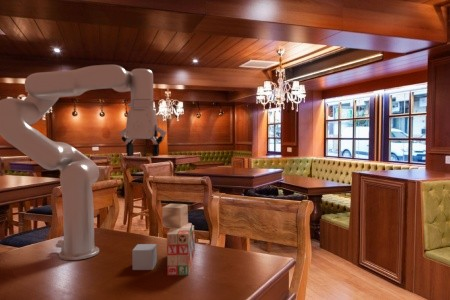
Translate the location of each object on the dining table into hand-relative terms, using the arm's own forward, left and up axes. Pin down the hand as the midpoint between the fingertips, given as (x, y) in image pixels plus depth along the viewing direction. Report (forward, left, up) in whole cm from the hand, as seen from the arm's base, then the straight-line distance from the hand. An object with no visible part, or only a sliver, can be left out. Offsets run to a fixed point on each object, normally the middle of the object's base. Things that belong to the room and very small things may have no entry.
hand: (142, 156), depth 118 cm
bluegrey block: (+7, -12, -33) cm, 36 cm away
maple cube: (+15, -7, -21) cm, 27 cm away
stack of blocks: (+17, -6, -34) cm, 38 cm away
